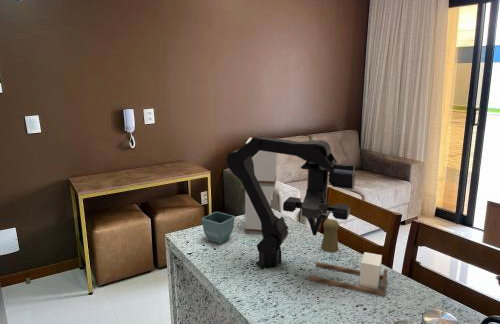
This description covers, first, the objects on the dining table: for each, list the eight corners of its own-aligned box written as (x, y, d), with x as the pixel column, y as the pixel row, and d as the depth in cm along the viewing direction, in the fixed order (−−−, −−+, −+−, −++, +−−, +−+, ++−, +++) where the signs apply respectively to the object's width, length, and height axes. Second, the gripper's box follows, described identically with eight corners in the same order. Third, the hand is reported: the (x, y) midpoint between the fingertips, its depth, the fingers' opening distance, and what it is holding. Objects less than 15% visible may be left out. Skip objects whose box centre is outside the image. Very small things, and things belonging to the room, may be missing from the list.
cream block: (359, 288, 111) (361, 262, 109) (362, 276, 117) (364, 252, 115) (377, 292, 109) (379, 266, 107) (379, 280, 115) (382, 255, 114)
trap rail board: (305, 287, 112) (306, 276, 112) (318, 262, 127) (319, 252, 126) (382, 304, 105) (383, 292, 104) (387, 276, 119) (388, 265, 118)
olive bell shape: (338, 255, 132) (340, 224, 130) (320, 253, 133) (322, 223, 131) (338, 247, 138) (340, 218, 135) (320, 245, 139) (322, 216, 137)
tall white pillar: (273, 235, 147) (275, 143, 139) (245, 233, 149) (245, 142, 140) (275, 223, 158) (277, 138, 150) (248, 222, 160) (249, 137, 151)
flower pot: (235, 238, 144) (235, 215, 142) (221, 247, 137) (221, 223, 135) (216, 233, 149) (216, 211, 147) (201, 241, 141) (201, 218, 139)
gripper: (277, 188, 109) (276, 240, 113) (345, 197, 102) (341, 252, 106) (289, 178, 119) (287, 226, 123) (351, 185, 112) (348, 236, 116)
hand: (314, 235), depth 116 cm, fingers closed
